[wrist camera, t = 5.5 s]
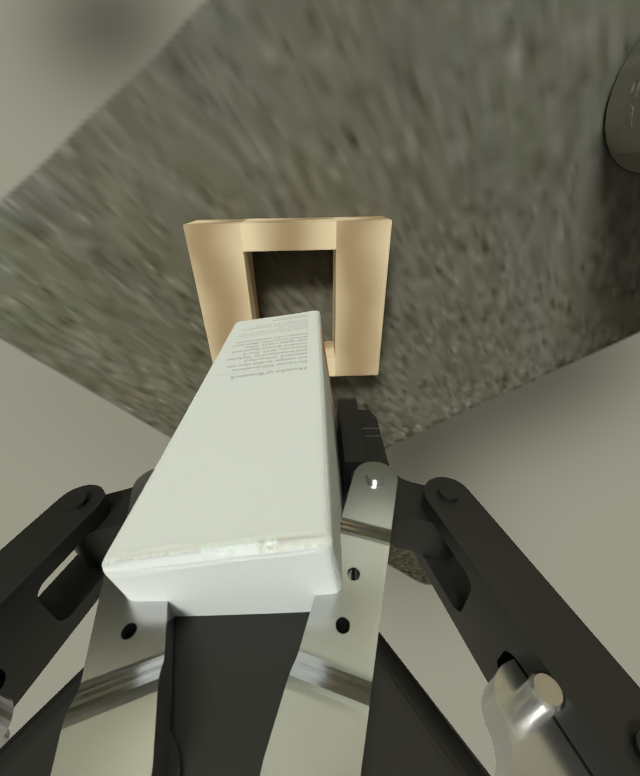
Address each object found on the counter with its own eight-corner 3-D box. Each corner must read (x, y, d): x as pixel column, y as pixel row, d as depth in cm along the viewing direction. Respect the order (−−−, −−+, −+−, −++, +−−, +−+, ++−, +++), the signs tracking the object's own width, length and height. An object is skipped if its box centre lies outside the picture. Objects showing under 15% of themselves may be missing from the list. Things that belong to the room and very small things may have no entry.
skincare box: (336, 408, 18) (364, 683, 8) (262, 417, 19) (203, 694, 9) (321, 304, 15) (337, 548, 5) (233, 317, 15) (80, 573, 5)
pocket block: (382, 216, 25) (391, 220, 22) (371, 356, 31) (377, 374, 28) (198, 219, 25) (183, 224, 22) (225, 360, 31) (216, 379, 28)
